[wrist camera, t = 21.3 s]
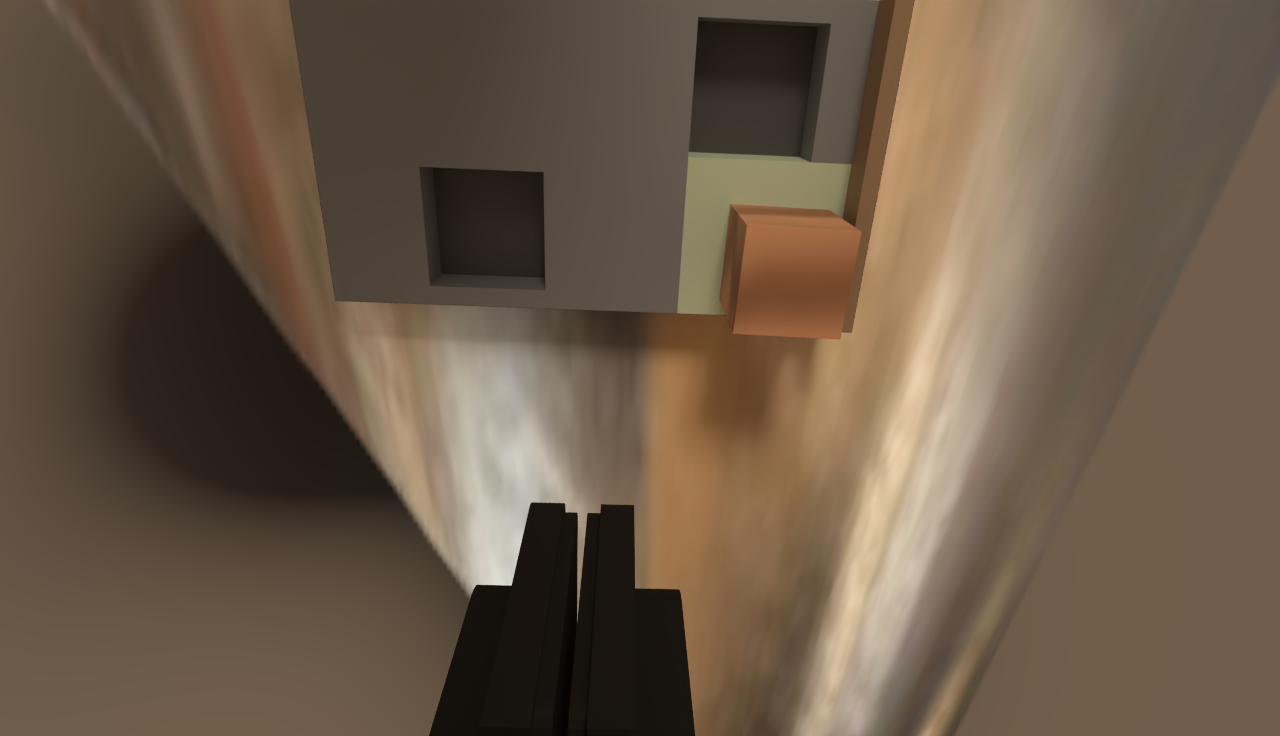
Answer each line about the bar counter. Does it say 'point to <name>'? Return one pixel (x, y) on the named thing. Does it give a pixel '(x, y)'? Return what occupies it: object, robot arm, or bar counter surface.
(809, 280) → the block
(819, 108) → the deck
